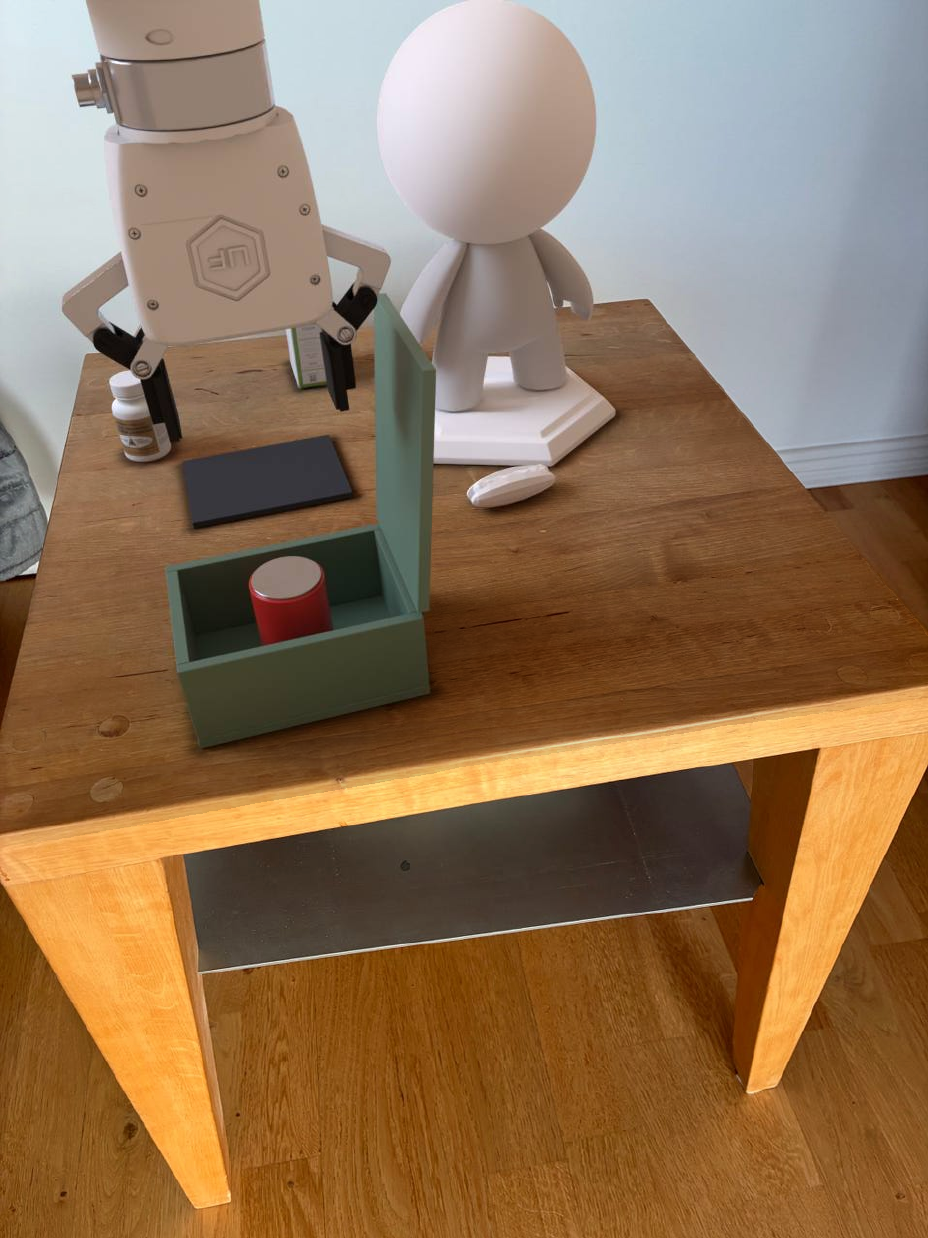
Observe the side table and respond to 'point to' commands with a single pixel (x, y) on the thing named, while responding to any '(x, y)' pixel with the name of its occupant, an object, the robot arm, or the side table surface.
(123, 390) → the pill bottle
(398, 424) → the lid
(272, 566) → the can
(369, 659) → the storage box
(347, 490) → the mat
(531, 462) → the white toy figurine
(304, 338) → the ink box
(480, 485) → the white oval capsule
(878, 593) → the side table surface
